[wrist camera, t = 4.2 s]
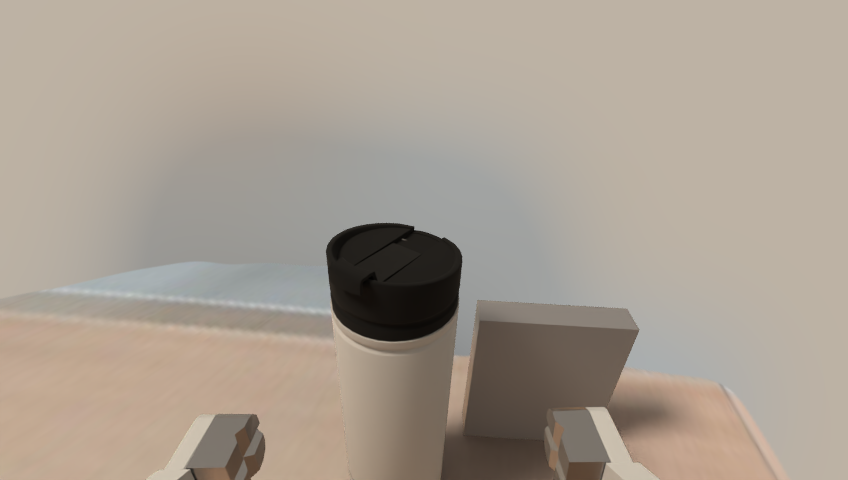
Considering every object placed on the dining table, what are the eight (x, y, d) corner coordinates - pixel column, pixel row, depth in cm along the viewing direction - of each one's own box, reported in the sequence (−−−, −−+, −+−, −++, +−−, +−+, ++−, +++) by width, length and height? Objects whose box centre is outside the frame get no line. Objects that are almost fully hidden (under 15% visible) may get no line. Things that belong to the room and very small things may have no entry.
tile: (591, 443, 31) (639, 329, 25) (463, 435, 31) (479, 320, 25) (583, 418, 33) (625, 306, 27) (462, 410, 33) (477, 297, 27)
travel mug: (328, 497, 27) (286, 249, 17) (388, 424, 32) (384, 196, 22) (402, 560, 24) (406, 306, 14) (456, 470, 29) (489, 231, 19)
